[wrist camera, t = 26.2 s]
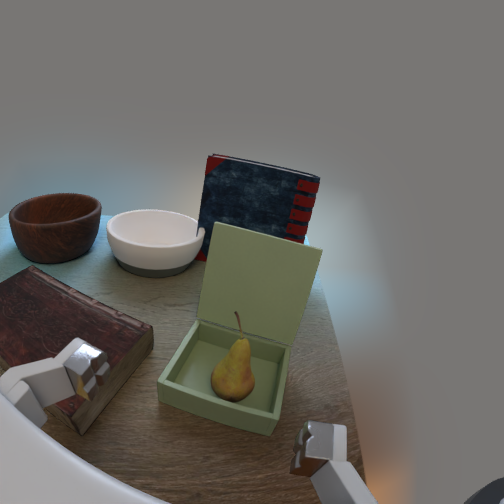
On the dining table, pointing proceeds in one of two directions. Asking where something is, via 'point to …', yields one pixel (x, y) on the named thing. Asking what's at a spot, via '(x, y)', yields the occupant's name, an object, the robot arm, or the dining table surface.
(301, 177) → the book
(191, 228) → the bowl
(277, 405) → the chest
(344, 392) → the dining table surface
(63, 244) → the wooden bowl
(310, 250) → the chest lid
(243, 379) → the fruit
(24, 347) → the hardback book
